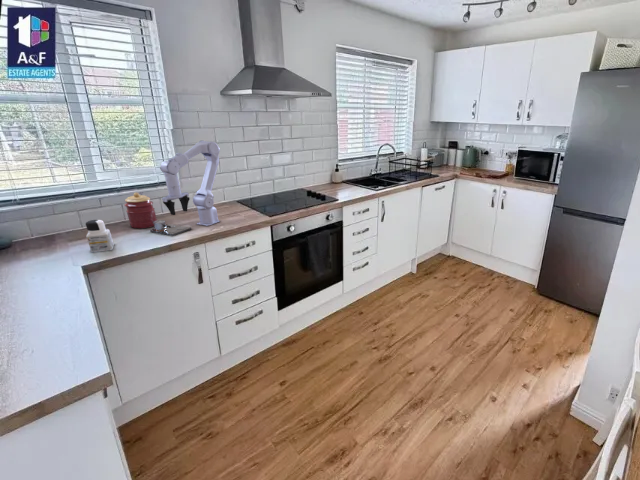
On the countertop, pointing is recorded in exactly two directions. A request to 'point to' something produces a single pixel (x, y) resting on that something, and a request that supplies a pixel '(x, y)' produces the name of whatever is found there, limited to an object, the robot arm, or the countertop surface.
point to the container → (98, 236)
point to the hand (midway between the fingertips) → (179, 213)
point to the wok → (160, 225)
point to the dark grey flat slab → (172, 230)
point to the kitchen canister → (140, 211)
